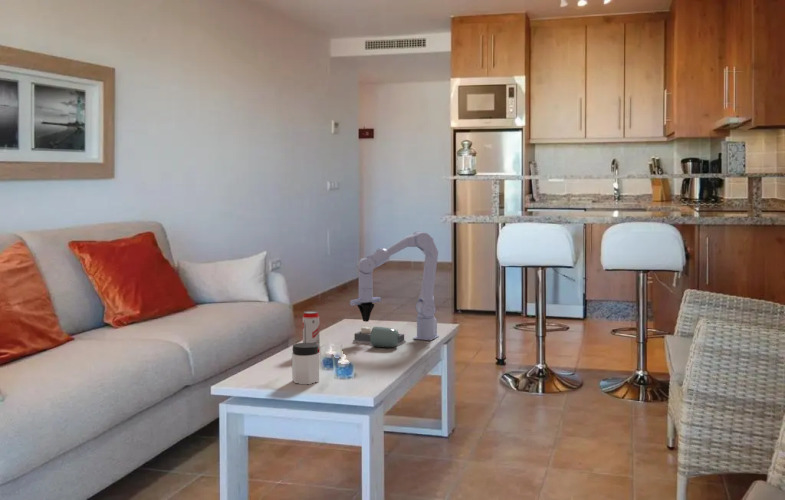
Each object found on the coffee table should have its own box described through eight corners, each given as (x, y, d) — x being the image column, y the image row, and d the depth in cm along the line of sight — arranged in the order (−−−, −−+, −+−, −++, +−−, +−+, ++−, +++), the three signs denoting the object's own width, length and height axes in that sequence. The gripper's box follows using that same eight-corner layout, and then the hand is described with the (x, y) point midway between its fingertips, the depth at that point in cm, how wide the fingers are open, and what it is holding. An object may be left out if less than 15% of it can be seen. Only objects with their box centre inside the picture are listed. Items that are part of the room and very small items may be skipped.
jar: (306, 376, 261) (306, 341, 260) (324, 380, 256) (323, 344, 255) (286, 382, 254) (286, 345, 253) (304, 386, 249) (303, 349, 248)
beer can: (322, 352, 298) (322, 311, 296) (315, 356, 292) (315, 313, 290) (307, 351, 300) (306, 310, 298) (300, 355, 294) (299, 312, 292)
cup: (394, 329, 302) (370, 327, 305) (393, 349, 302) (369, 347, 305) (401, 327, 309) (378, 325, 313) (400, 347, 309) (377, 345, 313)
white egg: (363, 333, 322) (363, 326, 322) (372, 334, 320) (372, 327, 320) (359, 335, 318) (359, 328, 318) (368, 336, 317) (368, 329, 316)
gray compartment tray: (362, 338, 325) (362, 330, 325) (405, 342, 317) (405, 334, 316) (352, 342, 317) (352, 333, 317) (397, 346, 309) (397, 337, 309)
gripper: (373, 285, 325) (373, 317, 326) (345, 288, 316) (345, 322, 317) (384, 287, 320) (384, 320, 321) (356, 290, 311) (356, 324, 312)
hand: (365, 321), depth 319 cm, fingers closed
